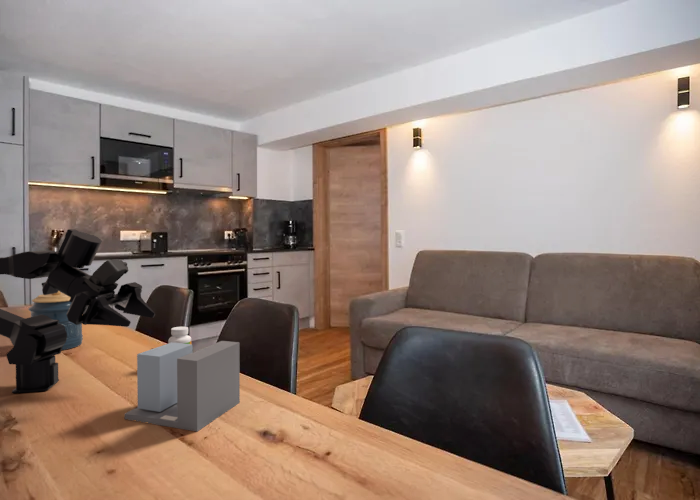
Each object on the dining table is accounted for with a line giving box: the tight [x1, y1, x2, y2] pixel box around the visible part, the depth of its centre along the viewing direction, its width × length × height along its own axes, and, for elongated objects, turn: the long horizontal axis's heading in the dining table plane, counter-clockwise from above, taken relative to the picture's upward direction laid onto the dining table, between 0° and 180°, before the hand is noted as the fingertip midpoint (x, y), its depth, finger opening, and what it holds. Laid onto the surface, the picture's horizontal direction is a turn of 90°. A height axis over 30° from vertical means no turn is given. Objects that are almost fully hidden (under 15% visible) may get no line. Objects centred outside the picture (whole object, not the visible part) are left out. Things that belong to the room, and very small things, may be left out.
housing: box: [124, 340, 241, 432], centre depth 80 cm, size 15×13×12 cm
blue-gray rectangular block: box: [136, 342, 194, 412], centre depth 81 cm, size 5×9×10 cm, turn 163°
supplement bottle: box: [167, 326, 192, 344], centre depth 106 cm, size 5×5×10 cm
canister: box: [27, 291, 84, 351], centre depth 124 cm, size 13×13×18 cm
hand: (142, 319), depth 89 cm, fingers open, 9 cm apart
